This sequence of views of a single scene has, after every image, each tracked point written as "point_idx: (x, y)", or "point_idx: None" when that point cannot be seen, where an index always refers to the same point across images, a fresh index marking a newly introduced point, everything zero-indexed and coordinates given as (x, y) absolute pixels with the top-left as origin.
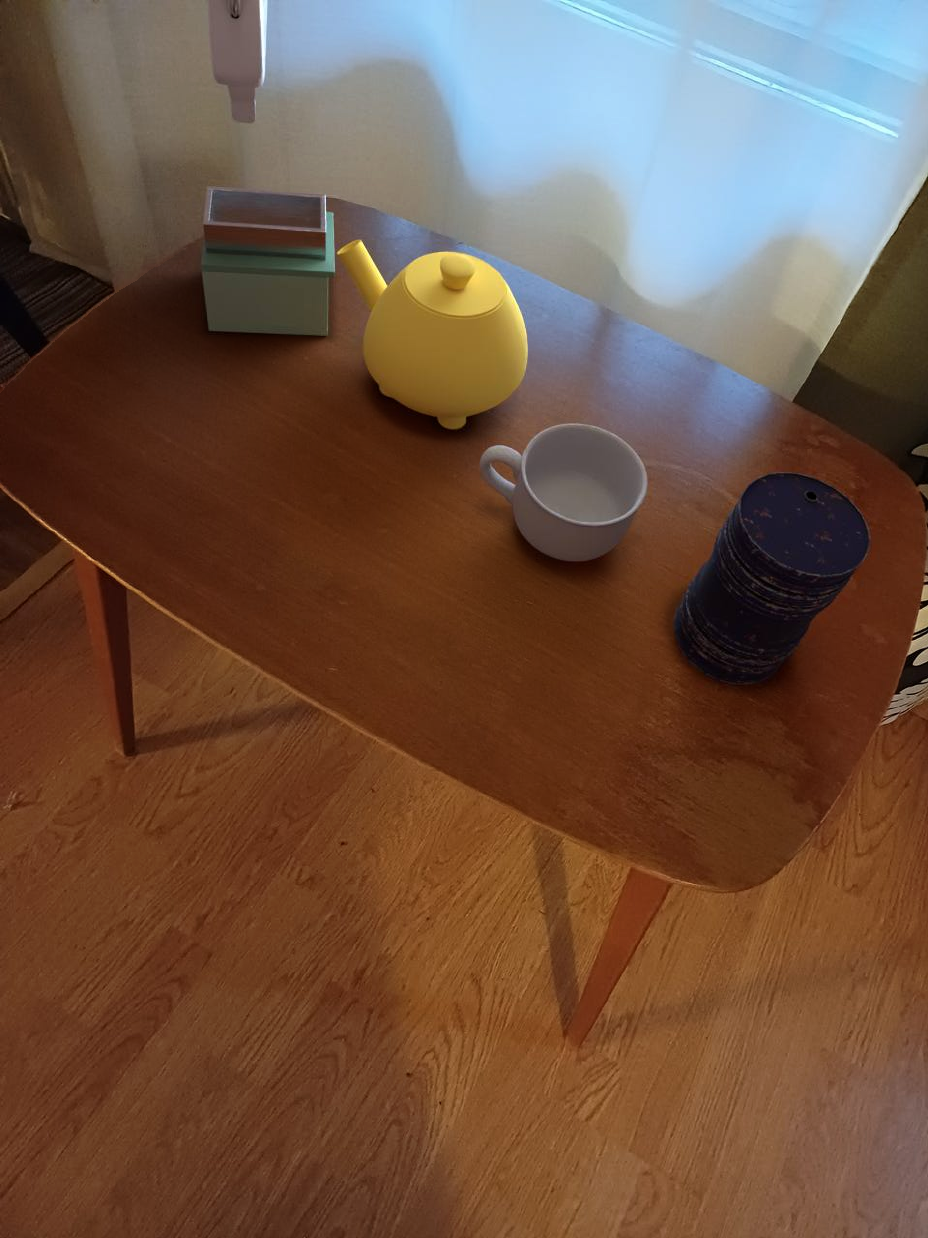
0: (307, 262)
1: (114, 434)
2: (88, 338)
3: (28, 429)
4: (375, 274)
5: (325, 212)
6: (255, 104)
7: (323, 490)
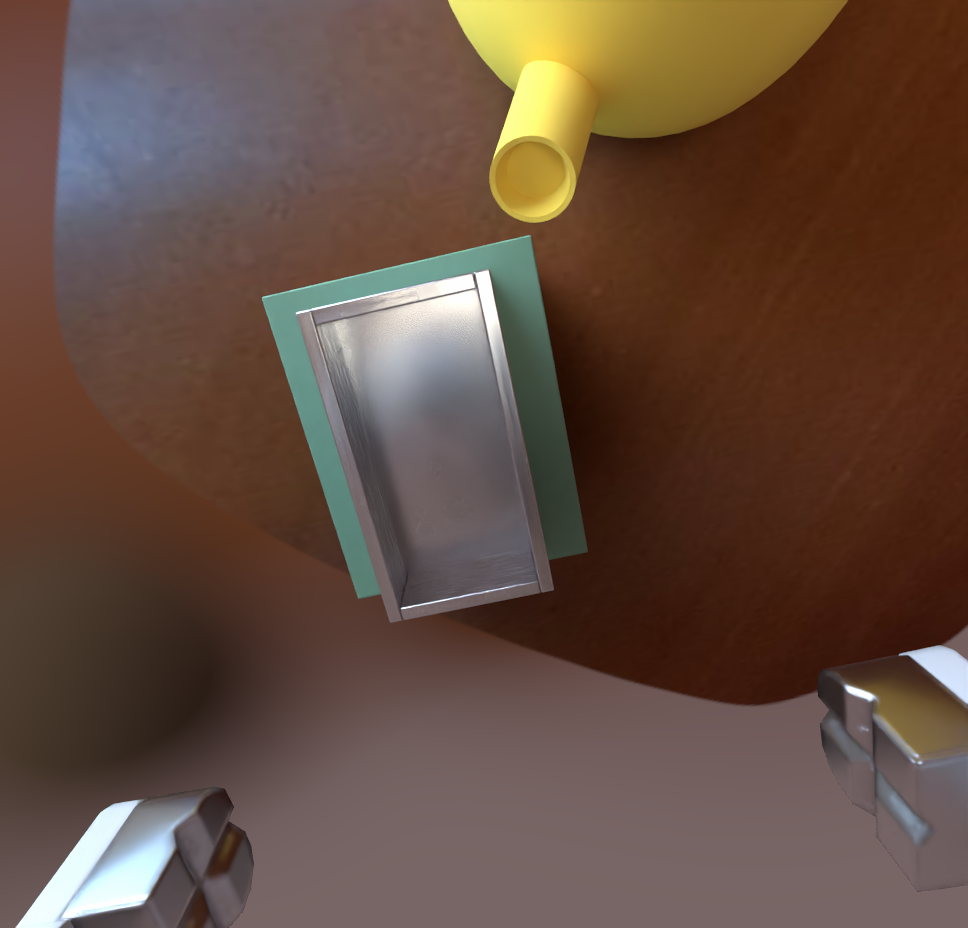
0: (511, 317)
1: (837, 555)
2: (623, 655)
3: (835, 664)
4: (562, 91)
5: (389, 291)
6: (871, 695)
7: (963, 173)
